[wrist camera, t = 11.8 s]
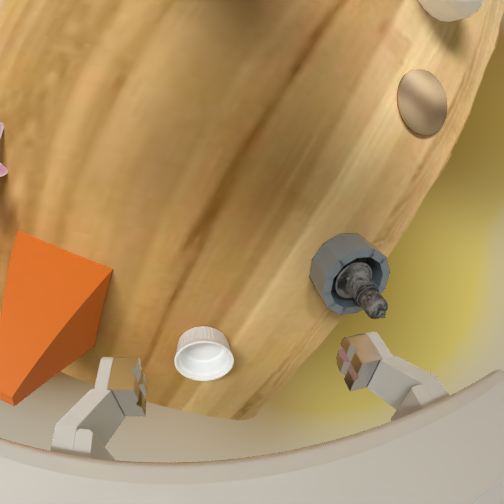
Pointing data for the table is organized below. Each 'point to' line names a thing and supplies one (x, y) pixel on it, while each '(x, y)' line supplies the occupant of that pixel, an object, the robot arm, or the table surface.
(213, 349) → the ramekin
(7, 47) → the table surface
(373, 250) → the grey faceted cup
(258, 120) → the table surface
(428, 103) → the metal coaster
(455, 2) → the teardrop
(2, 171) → the lily
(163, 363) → the table surface
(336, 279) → the grey chess piece
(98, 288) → the pyramid
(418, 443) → the robot arm
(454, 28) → the table surface
